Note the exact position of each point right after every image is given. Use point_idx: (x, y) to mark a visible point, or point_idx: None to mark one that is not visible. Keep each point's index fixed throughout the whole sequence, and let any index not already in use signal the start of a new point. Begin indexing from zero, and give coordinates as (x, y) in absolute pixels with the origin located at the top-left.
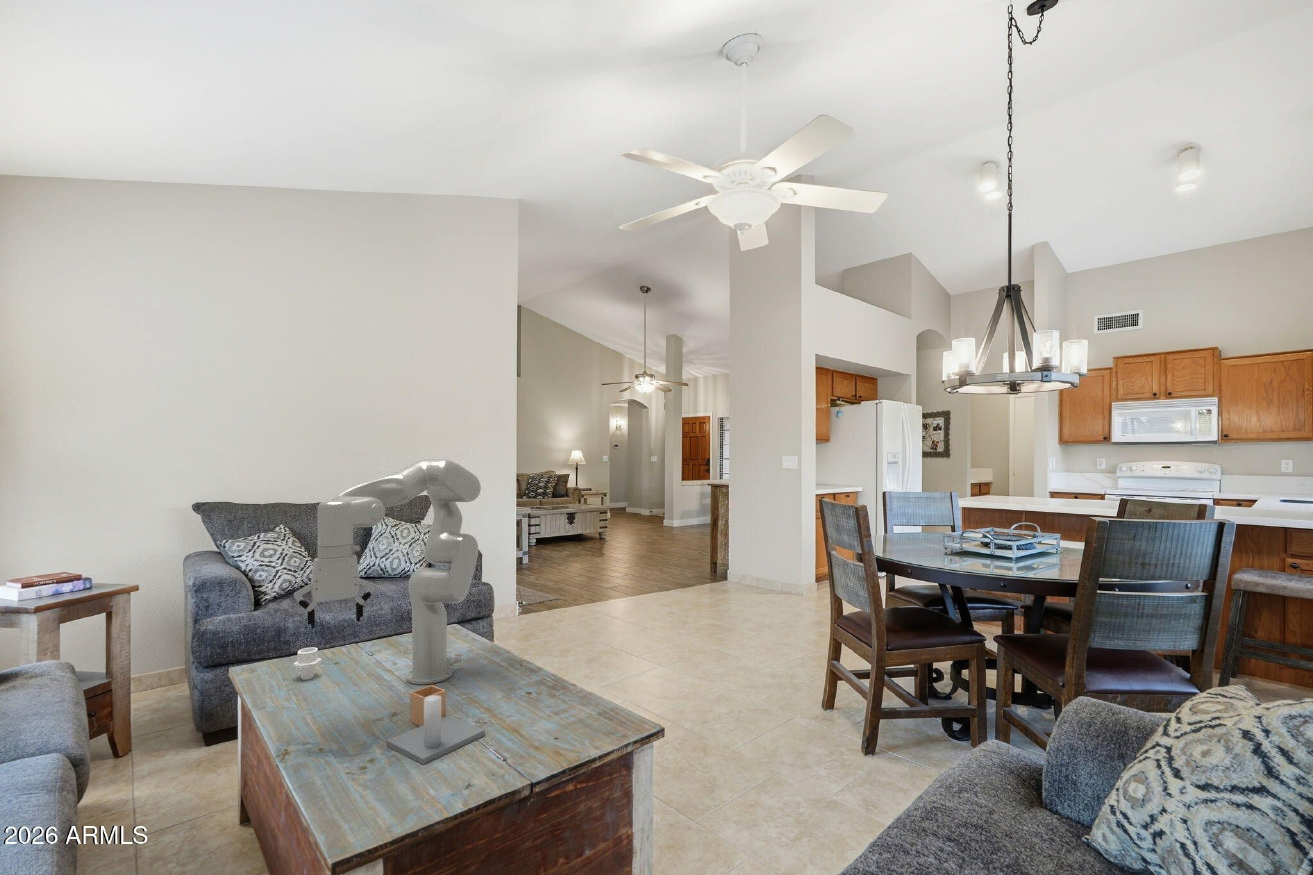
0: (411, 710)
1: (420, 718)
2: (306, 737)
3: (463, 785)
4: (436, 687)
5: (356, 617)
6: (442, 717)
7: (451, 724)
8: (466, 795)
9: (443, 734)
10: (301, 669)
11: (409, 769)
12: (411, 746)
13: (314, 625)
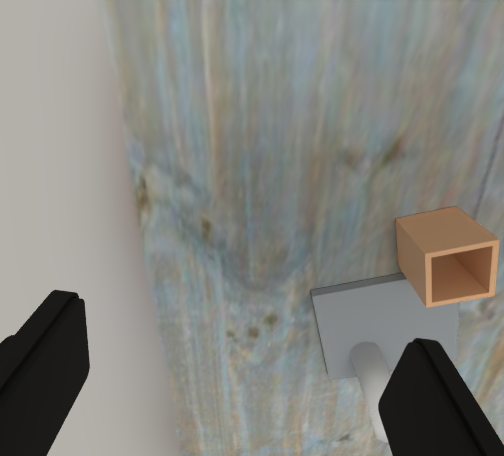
0: (406, 237)
1: (404, 264)
2: (186, 147)
3: (340, 434)
4: (493, 265)
5: (399, 395)
6: None
7: (434, 310)
8: (331, 449)
9: (398, 335)
10: None
11: (306, 373)
12: (334, 340)
13: (80, 385)
